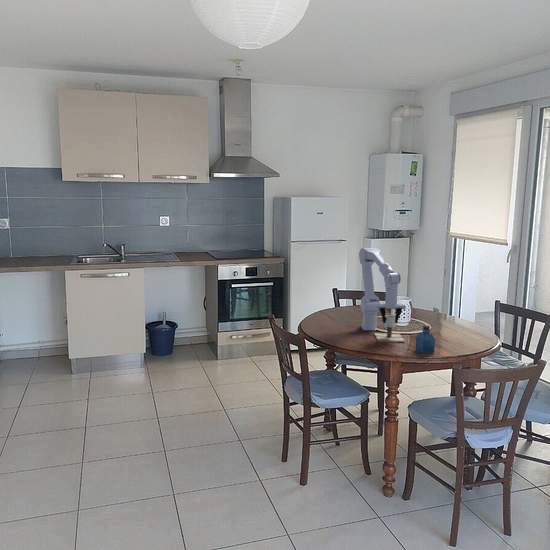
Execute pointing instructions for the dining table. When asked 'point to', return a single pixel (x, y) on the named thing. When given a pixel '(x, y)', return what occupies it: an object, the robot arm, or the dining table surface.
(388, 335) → the post stand
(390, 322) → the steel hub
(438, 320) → the dining table surface
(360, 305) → the robot arm
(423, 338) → the perfume bottle
